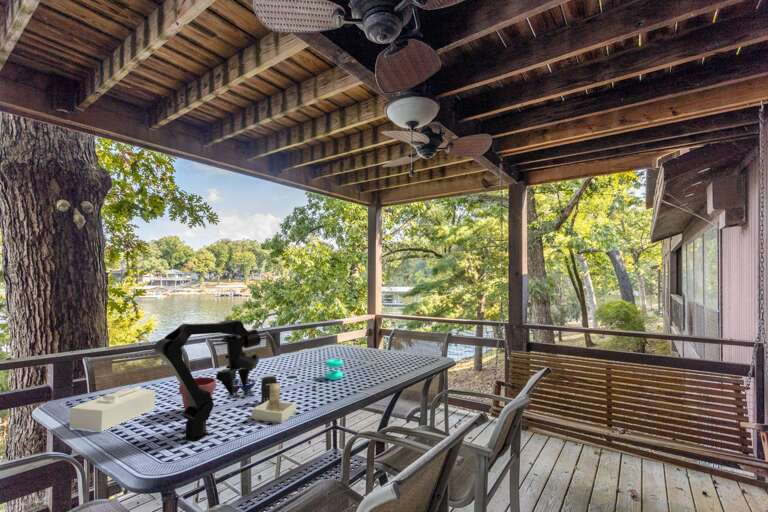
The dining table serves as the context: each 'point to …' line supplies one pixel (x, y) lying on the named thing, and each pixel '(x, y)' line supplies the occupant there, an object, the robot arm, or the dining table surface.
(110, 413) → the tissue box
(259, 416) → the tray
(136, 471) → the dining table surface
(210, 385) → the plant pot
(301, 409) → the dining table surface
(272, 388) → the pin
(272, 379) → the battery charger
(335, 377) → the teal hourglass-shaped piece
